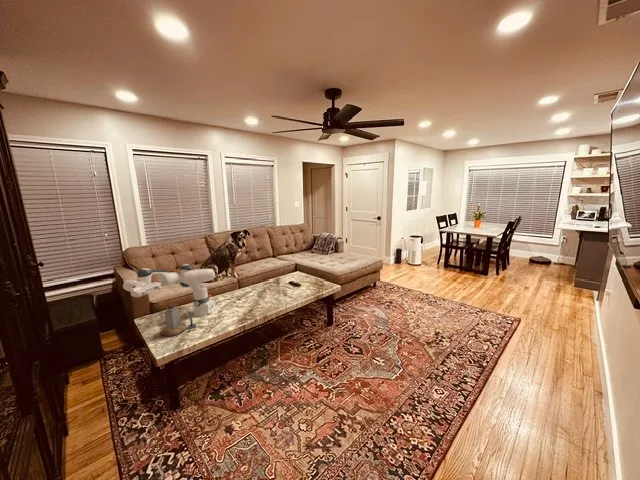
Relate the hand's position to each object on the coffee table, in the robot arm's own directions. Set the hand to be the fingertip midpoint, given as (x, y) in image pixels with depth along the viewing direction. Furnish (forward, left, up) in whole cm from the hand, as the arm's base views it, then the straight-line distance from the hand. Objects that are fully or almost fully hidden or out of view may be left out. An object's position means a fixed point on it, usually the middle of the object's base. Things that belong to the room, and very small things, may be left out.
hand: (155, 291), depth 196 cm
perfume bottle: (+1, +14, -28) cm, 31 cm away
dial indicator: (-7, +23, -31) cm, 39 cm away
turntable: (+1, +14, -31) cm, 34 cm away
